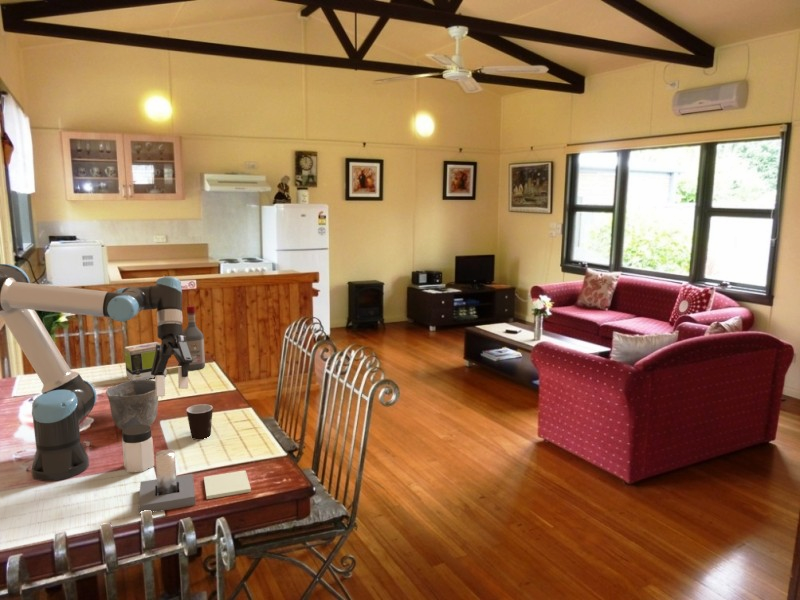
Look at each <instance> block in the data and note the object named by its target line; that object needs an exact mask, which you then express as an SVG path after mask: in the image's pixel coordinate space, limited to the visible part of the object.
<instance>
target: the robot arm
mask: <svg viewBox="0 0 800 600" xmlns="http://www.w3.org/2000/svg"><path fill="white" fill-rule="evenodd" d="M147 310H148V311H149V310H156V322H157V323H156V325H157V329H156V330H157V332H156V333H157V338H158V339H160V340H161V343H160V344H161V345H159V344H157V345H156V352H155V357H154V361H153V366H152V371H151V375H154V376H155V378H154V379H155V380H154V381H155V388H156V396H158V397H166V383H165V382H166V381H165V380H166V378H165V377H166V376H165V375H164V370H165V368H166V369H167V364H168V362H169V359H170V358H171V357H172V356H174V358H175V359H176V361H177V364H178V365H177V366H178V367H177V373H178V374H177V375H178V376H177V377H178V381H177V382H178V389H189V370H188V366H189V363H192V358H191V355H190V352H189V349H188V346H187V343H186V336H183V331H184V327H183V325H182V324H183V319H184V317H183V291H182V281H181V280H180V279H179V278H177V277H176V276H175V277H173V276H163V277H159V278H158V279H157V280H156V283H155V285H150V286H148V285H147V286H131V287H130V286H127V287H124V288H118V289H116V290H115V292H112V291H105V290H104V291H103V290H96V289H95V290H94V289H89V288H88V289H86V288H76V287H68V286H59V285H51V284H42V283H41V284H39V283H32V282H31V281H30V278H29V276H28V274H27V273H26V271H24V269H22V268H20V267H19V266H17V265H15V264H11V263H0V318H2V320H3V322H4V323H5V325H6V327H7V328H8V330H9V331H10V333H11V334H12V336H13V338H14V339H15V341H16V343H17V344H18V346H19V348H20V349H21V351H22V352H23V354H24V355H25V357H26V359H27V360H28V362H29V363H30V365H31V367H32V368H33V369H34V371H35V373H36V375H37V376H38V378H39V380H40V382H41V383H42V385H43V386H42V389H41V393H42V394H40V395H38V396H37V397H36V398H35V399H34V400H33V402H32V405H31V416H32V421H33V423H32V424H33V433H34V439H35V441H34V442H35V453H34V457H33V461H32V464H31V476H32V478H33V479H35V480H38V481H45V482H46V481H47V482H51V481H61V480H64V479H69V478H73V477H74V476H77V475H79V474H81V473H83V472H85V471H86V470H87V469H89V466H90V461H89V456H88V453H87V452H86V450H85V447H84V446H83V444H82V441H81V433H80V423H81V422H82V421H83V419H84V418H85V417H87V415H89V413H91V411H92V410H93V409H94V406H95V405H96V403H97V398H98V397H97V396H98V395H97V391H96V389H95V387H94V386H93V385H92V383H90V381H88V380H85V379H83V378H82V376H81V374H80V373H79V372H76V371H73V370H71V368H70V366H69V365H68V363H67V362H66V360H65V357H64V356H63V355H62V353H61V352H60V350H59V348H58V347H57V345H56V343H55V342H54V340H53V338H52V337H51V335H50V333H49V332H48V330H47V328H46V326H45V325H44V323H43V321H42V320H41V318H40V317H39V315H38V313H37V311H42V312H51V313H53V312H54V313H63V314H72V315H82V316H83V315H84V316H91V317H92V316H93V317H104V318H111V319H113V320H114V321H116V322H121V323H123V322H127V321H130V320H132V319H134V317H136V316H137V315H138V314H139V313H140V312H141V311H147ZM186 358H188V359H186ZM160 371H161V372H160Z"/></svg>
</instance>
